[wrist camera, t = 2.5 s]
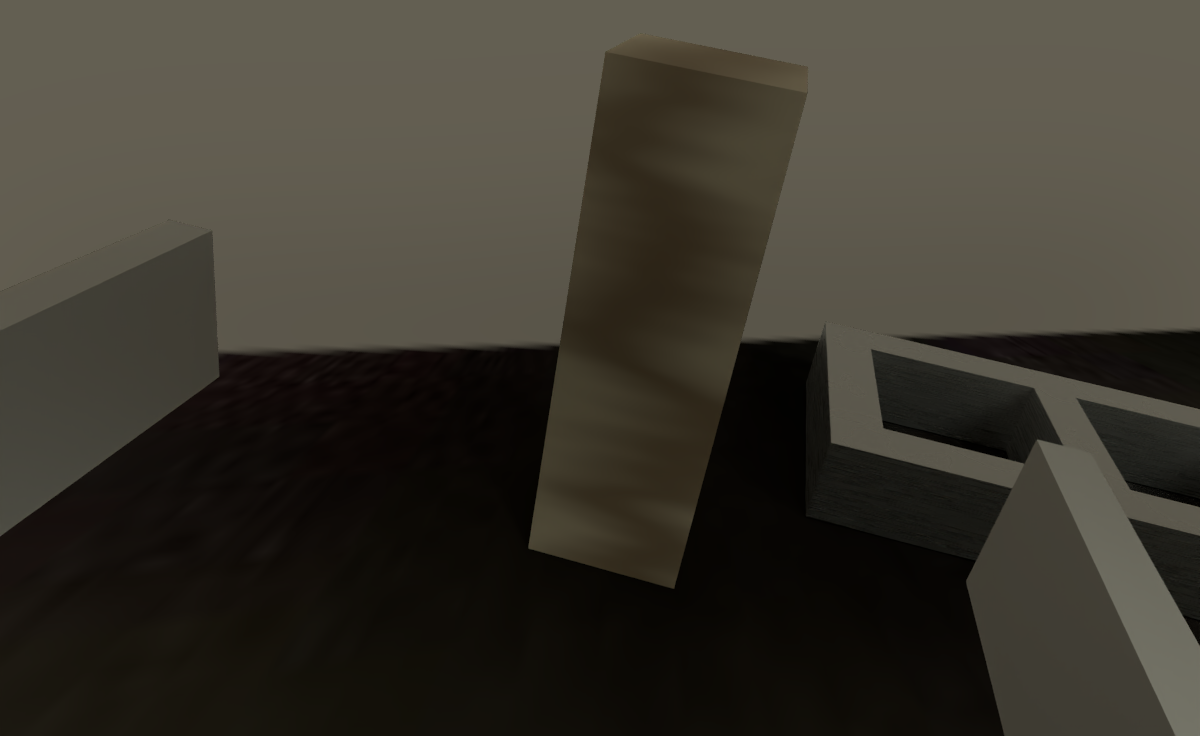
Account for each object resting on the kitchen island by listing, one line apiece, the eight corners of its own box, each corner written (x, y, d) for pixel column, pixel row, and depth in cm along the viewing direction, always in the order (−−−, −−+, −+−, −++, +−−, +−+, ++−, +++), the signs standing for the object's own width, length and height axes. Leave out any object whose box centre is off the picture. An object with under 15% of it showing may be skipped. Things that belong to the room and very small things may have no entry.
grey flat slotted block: (1444, 538, 34) (1493, 478, 33) (1663, 742, 25) (1742, 672, 24) (806, 382, 37) (825, 321, 36) (805, 516, 29) (831, 442, 27)
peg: (692, 501, 28) (807, 67, 22) (673, 588, 24) (807, 93, 18) (565, 467, 29) (640, 32, 22) (528, 548, 25) (605, 52, 18)
